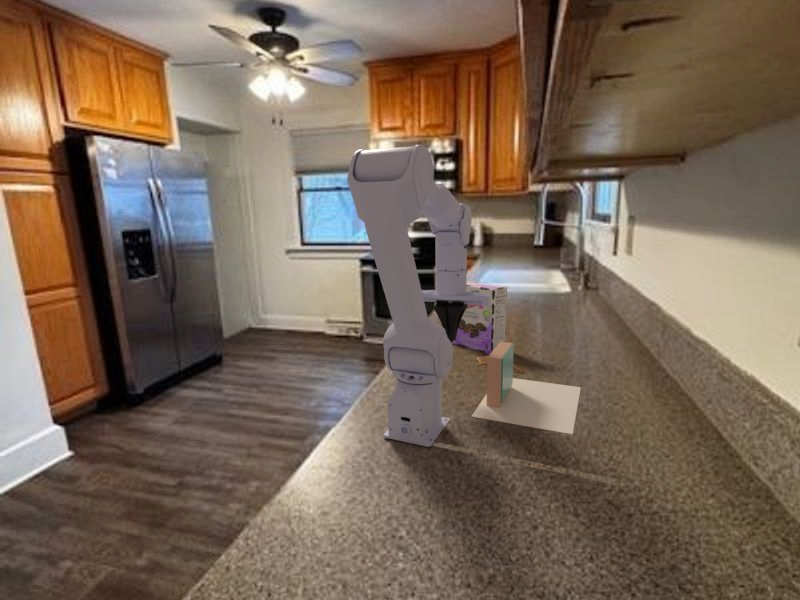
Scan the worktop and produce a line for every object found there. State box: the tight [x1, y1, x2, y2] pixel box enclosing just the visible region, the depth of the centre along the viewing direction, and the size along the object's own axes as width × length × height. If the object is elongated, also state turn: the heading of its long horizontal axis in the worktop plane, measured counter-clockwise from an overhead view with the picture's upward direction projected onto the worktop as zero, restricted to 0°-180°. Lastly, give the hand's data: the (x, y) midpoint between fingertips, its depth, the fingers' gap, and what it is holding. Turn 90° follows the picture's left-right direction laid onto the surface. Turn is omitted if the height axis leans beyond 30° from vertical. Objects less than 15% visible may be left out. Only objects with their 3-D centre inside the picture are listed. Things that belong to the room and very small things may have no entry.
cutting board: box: [471, 377, 582, 435], centre depth 81 cm, size 20×16×1 cm
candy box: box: [451, 280, 508, 355], centre depth 114 cm, size 14×6×16 cm, turn 42°
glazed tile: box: [486, 341, 515, 408], centre depth 83 cm, size 10×3×9 cm, turn 155°
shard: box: [475, 355, 525, 374], centre depth 99 cm, size 11×8×2 cm
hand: (451, 340), depth 86 cm, fingers closed
